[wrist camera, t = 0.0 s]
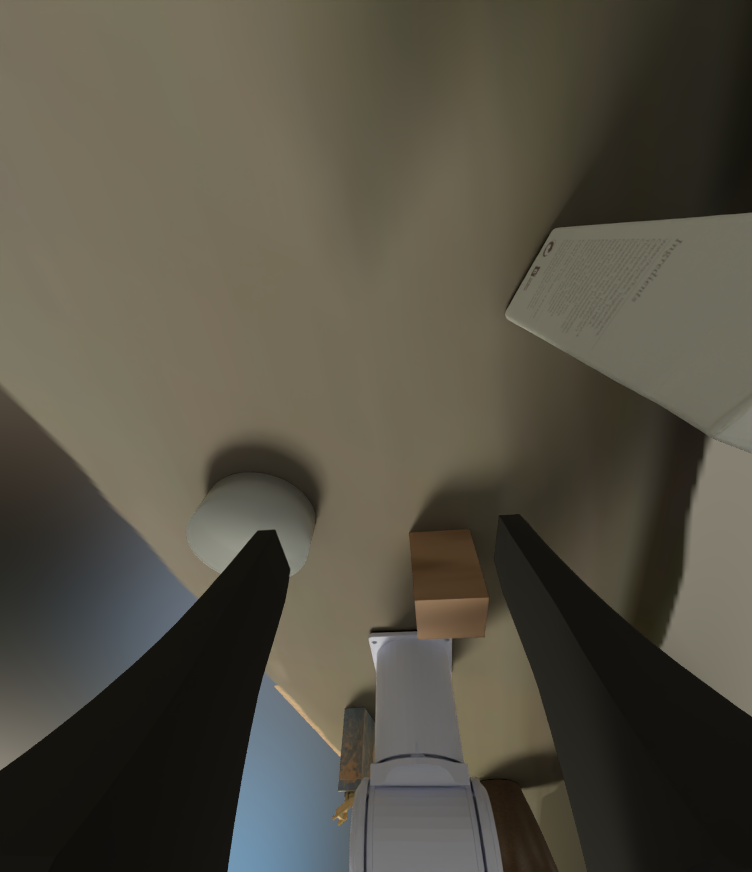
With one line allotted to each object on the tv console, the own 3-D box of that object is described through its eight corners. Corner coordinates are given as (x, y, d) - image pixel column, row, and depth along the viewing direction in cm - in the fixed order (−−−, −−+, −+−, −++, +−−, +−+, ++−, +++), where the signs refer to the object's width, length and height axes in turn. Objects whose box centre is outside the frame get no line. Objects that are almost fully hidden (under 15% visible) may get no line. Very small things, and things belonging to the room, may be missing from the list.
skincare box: (499, 318, 17) (687, 452, 6) (554, 219, 14) (982, 176, 4) (598, 360, 18) (901, 536, 7) (664, 274, 15) (1228, 352, 5)
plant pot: (434, 787, 58) (449, 957, 44) (492, 765, 51) (532, 956, 38) (497, 802, 62) (530, 962, 48) (559, 783, 55) (617, 963, 41)
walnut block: (467, 567, 27) (484, 637, 22) (412, 569, 27) (417, 639, 23) (469, 528, 25) (489, 597, 20) (409, 532, 25) (414, 600, 20)
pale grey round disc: (325, 546, 26) (318, 580, 24) (229, 551, 27) (212, 585, 24) (302, 466, 22) (292, 496, 20) (190, 474, 23) (165, 505, 20)
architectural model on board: (341, 704, 42) (331, 819, 34) (364, 702, 42) (359, 818, 33) (366, 737, 48) (362, 843, 39) (386, 736, 47) (387, 842, 39)
